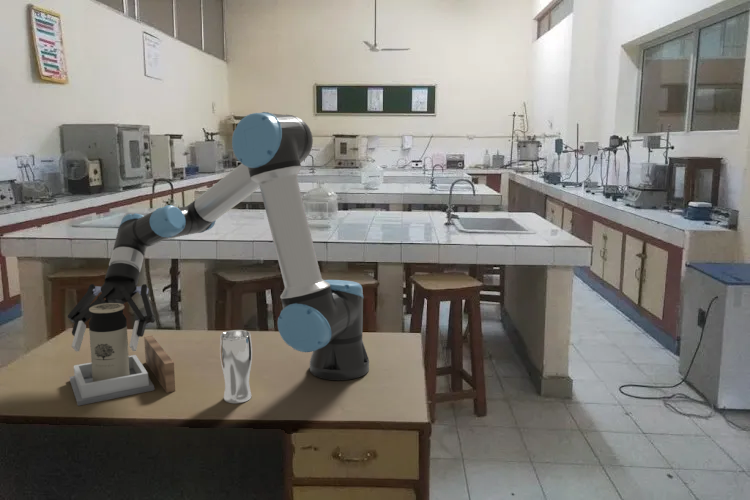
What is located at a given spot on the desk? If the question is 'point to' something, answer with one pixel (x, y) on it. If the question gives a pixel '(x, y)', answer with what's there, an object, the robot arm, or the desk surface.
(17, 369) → the desk surface
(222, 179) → the robot arm
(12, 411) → the desk surface
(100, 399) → the socket
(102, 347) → the travel mug
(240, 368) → the beer glass
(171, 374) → the door edge rail
